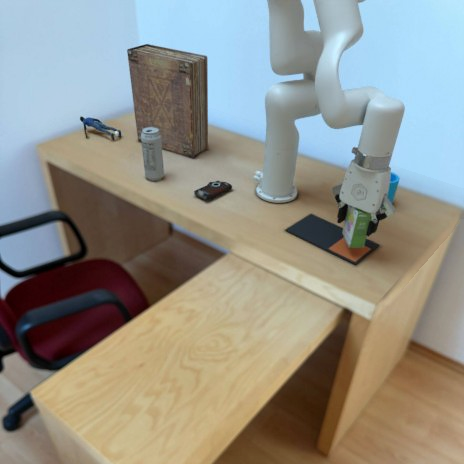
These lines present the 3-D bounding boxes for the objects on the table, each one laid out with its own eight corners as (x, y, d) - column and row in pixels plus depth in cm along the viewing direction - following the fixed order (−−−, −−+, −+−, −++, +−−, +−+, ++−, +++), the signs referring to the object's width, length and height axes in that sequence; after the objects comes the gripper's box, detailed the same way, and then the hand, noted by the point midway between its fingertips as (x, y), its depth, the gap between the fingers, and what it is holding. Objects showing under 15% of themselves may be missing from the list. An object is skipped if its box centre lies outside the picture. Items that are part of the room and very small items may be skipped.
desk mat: (285, 231, 120) (285, 229, 119) (310, 215, 126) (311, 213, 126) (355, 265, 109) (355, 263, 109) (378, 246, 116) (379, 244, 115)
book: (208, 150, 158) (208, 56, 137) (193, 158, 152) (190, 62, 131) (154, 133, 167) (145, 43, 147) (137, 141, 161) (126, 48, 141)
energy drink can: (168, 177, 141) (164, 130, 131) (153, 183, 137) (148, 135, 127) (156, 171, 144) (151, 124, 134) (141, 177, 140) (135, 129, 130)
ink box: (341, 233, 114) (352, 185, 105) (355, 232, 114) (368, 185, 105) (348, 248, 109) (360, 199, 100) (363, 248, 109) (377, 199, 100)
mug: (393, 210, 130) (401, 184, 125) (365, 206, 131) (371, 181, 125) (389, 191, 139) (397, 166, 133) (363, 188, 140) (369, 163, 134)
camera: (192, 187, 131) (217, 176, 137) (192, 196, 133) (217, 185, 139) (207, 193, 128) (232, 181, 134) (207, 202, 129) (232, 190, 136)
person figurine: (128, 139, 166) (91, 122, 171) (127, 127, 163) (90, 110, 168) (108, 148, 159) (70, 130, 164) (108, 136, 156) (69, 118, 160)
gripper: (330, 152, 99) (317, 220, 111) (401, 177, 91) (379, 247, 103) (348, 143, 103) (334, 209, 115) (417, 166, 95) (394, 235, 107)
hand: (355, 227), depth 109 cm, fingers closed on ink box, 7 cm apart
